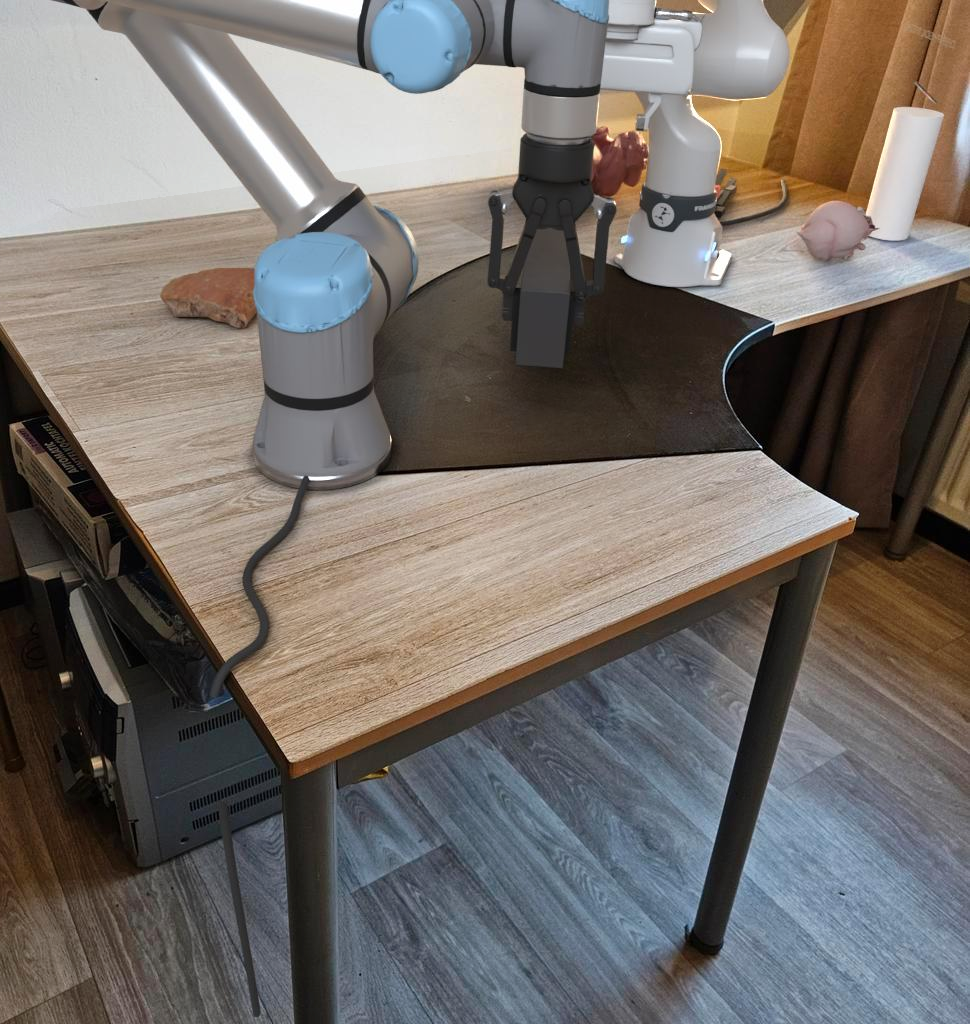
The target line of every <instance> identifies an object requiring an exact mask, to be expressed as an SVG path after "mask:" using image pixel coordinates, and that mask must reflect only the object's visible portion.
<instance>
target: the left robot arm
mask: <svg viewBox="0 0 970 1024" xmlns="http://www.w3.org/2000/svg"><path fill="white" fill-rule="evenodd" d="M51 1H53V2H56V3H61V4H66V5H70V6H73V7H77V8H80V9H83V10H86V11H87V12H88V14H89V15H90V16H91V17H92V18H93V20H94V21H95V22H96V23H97V25H98V26H99V28H100V29H102V30H103V31H108V32H112V33H117V34H122V35H124V36H125V37H126V38H127V40H128V41H130V43H131V44H132V46H133V47H134V48H135V50H136V51H137V52H138V53H139V54H140V56H141V57H142V58H143V60H144V61H145V62H146V63H147V65H148V66H149V67H150V69H151V70H152V71H153V73H154V74H155V75H156V76H157V77H158V79H159V80H160V81H161V83H162V84H163V85H164V87H166V89H167V90H168V91H169V92H170V94H171V95H172V96H173V98H174V99H175V100H176V102H177V103H178V104H179V105H180V106H181V108H182V109H183V110H184V112H185V113H186V114H187V115H188V117H189V118H190V119H191V120H192V122H193V123H194V125H195V126H196V127H197V128H198V130H199V131H200V132H201V133H202V134H203V136H204V137H205V138H206V140H207V141H208V142H209V144H210V145H211V146H212V148H213V149H214V150H215V151H216V152H217V154H218V155H219V156H220V158H221V159H222V160H223V161H224V163H225V164H226V166H228V167H229V169H230V170H231V171H232V173H233V174H234V175H235V176H236V178H237V179H238V180H239V181H240V183H241V184H242V186H243V187H244V188H245V189H246V191H247V192H248V193H249V194H250V195H251V197H252V198H253V200H254V201H255V202H256V203H257V204H258V206H259V208H260V209H261V210H262V211H263V212H264V214H265V215H266V217H268V218H269V220H270V221H271V222H272V224H273V225H274V226H275V229H276V241H275V242H273V243H271V244H270V245H269V246H267V247H266V248H265V249H264V250H263V251H262V252H261V253H260V255H259V256H258V258H257V260H256V261H255V266H254V268H255V271H254V276H255V283H254V284H255V285H254V290H253V294H254V301H255V306H256V311H257V313H256V320H257V328H258V329H257V330H258V340H259V349H260V359H261V369H262V379H263V388H264V390H263V391H264V396H263V400H262V404H261V408H260V412H259V415H258V419H257V423H256V427H255V430H254V434H253V439H252V455H253V460H254V464H255V467H256V468H257V470H258V471H259V472H260V473H261V474H262V475H263V476H265V477H266V478H268V479H269V480H271V481H273V482H275V483H278V484H280V485H283V486H286V487H290V488H295V489H298V490H297V492H296V494H295V497H294V500H293V501H294V502H293V504H292V507H291V510H290V514H289V516H288V518H287V520H286V522H285V523H284V525H283V526H282V527H281V528H280V529H279V530H278V532H277V533H275V534H274V535H273V537H271V538H270V539H268V540H267V541H266V542H265V543H264V544H263V545H262V546H260V547H259V548H257V550H255V552H254V553H253V554H252V555H251V557H250V558H249V559H248V561H247V563H246V565H245V567H244V569H243V572H242V586H243V590H244V592H245V594H246V596H247V599H248V600H249V602H250V603H251V606H252V607H253V608H254V610H255V612H256V614H257V616H258V621H259V630H258V635H257V636H256V637H255V639H254V640H253V641H252V642H251V643H249V644H248V645H246V646H245V647H244V648H242V649H241V650H239V651H238V652H235V653H234V654H233V655H232V656H231V657H229V658H228V659H227V660H226V661H225V662H224V663H223V664H222V665H221V666H220V668H219V670H218V671H217V673H216V675H215V677H214V679H213V681H212V685H211V688H210V691H209V697H210V698H212V699H214V698H215V699H216V698H218V696H220V693H221V691H222V688H223V685H224V682H225V680H226V678H227V677H228V675H229V674H230V673H231V672H232V670H233V669H234V668H235V667H236V666H237V665H239V664H240V663H241V662H243V661H244V660H246V659H247V658H249V657H250V656H251V655H253V654H255V653H256V652H257V651H259V650H260V649H261V648H262V647H263V645H264V643H265V642H266V640H267V637H269V631H270V619H269V615H268V613H267V610H266V608H265V607H264V604H263V602H262V601H261V599H260V598H259V597H258V594H257V593H256V591H255V589H254V587H253V583H252V575H253V571H254V568H255V567H256V565H257V564H258V563H259V561H261V559H262V558H263V557H264V556H265V555H266V554H267V553H268V552H270V551H271V550H272V549H273V548H274V547H275V546H277V545H278V544H279V543H280V542H282V540H283V539H285V538H286V536H287V535H288V534H289V532H290V531H291V530H292V528H293V527H294V526H295V523H296V522H297V519H298V516H299V513H300V510H301V506H302V503H303V500H304V497H305V494H306V492H307V490H312V491H314V490H315V491H323V490H327V491H328V490H337V489H342V488H348V487H351V486H355V485H358V484H361V483H363V482H366V481H368V480H370V479H373V478H374V477H375V476H377V475H378V474H380V473H381V472H382V471H383V470H384V469H385V468H386V467H387V466H388V464H389V463H390V461H391V458H392V437H391V432H390V430H389V427H388V424H387V422H386V419H385V417H384V413H383V411H382V408H381V406H380V403H379V400H378V398H377V395H376V393H375V385H374V340H375V339H374V338H375V336H376V335H377V334H378V332H379V331H380V330H381V329H382V328H383V326H384V325H385V324H386V322H388V320H389V319H390V318H391V316H392V315H393V314H394V313H395V311H396V310H398V309H399V308H401V307H402V306H403V305H404V303H405V302H406V300H407V298H409V295H410V293H411V291H412V288H413V286H414V284H415V282H416V279H417V276H418V272H419V263H420V262H419V260H420V258H419V251H418V246H417V242H416V241H415V237H414V236H413V232H411V230H410V228H409V227H408V226H407V224H406V223H405V222H404V220H403V219H401V217H399V216H398V215H397V214H395V213H394V212H392V211H390V210H389V209H386V208H383V207H379V206H377V205H373V203H372V202H371V200H370V199H369V198H368V196H367V195H366V194H365V193H364V191H363V190H362V189H361V187H360V186H359V185H358V184H357V183H354V182H353V183H352V182H348V181H343V180H342V181H341V180H340V179H337V177H336V176H335V175H334V174H333V172H332V171H331V170H330V168H329V167H328V165H326V163H325V162H324V160H323V159H322V158H321V156H320V155H319V154H318V153H317V151H316V150H315V149H314V147H313V146H312V145H311V143H310V141H308V139H307V138H306V136H305V135H304V134H303V132H302V131H301V129H300V128H299V127H298V126H297V124H296V123H295V122H294V121H293V119H292V117H291V116H290V115H289V113H288V112H287V111H286V109H285V108H284V107H283V106H282V104H281V103H280V102H279V100H278V99H277V98H276V96H275V95H274V93H273V92H272V90H271V89H270V88H269V87H268V86H267V84H266V83H265V81H264V80H263V79H262V77H261V76H260V75H259V74H258V72H257V71H256V69H255V68H254V67H253V66H252V64H251V63H250V61H249V60H248V59H247V57H246V56H245V55H244V53H243V52H242V51H241V49H240V48H239V46H238V45H237V44H236V43H235V41H234V40H233V38H232V37H231V36H230V35H233V36H236V37H240V38H244V39H248V40H251V41H256V42H259V43H263V44H267V45H271V46H274V47H278V48H281V49H286V50H291V51H293V52H297V53H301V54H305V55H308V56H311V57H312V56H313V57H316V58H320V59H324V60H327V61H332V62H336V63H338V64H344V65H347V66H351V67H355V68H358V69H361V70H362V69H363V70H365V71H370V72H372V73H375V74H379V75H381V76H382V77H383V79H385V81H386V82H387V83H389V84H390V85H391V86H392V87H394V88H396V89H398V91H402V92H404V93H408V94H414V95H420V94H426V93H432V92H435V91H440V90H442V89H444V88H445V87H446V86H448V85H450V84H452V83H453V82H455V80H457V79H458V78H459V77H460V75H461V74H462V73H463V72H465V71H467V70H468V69H470V68H472V67H473V66H474V65H479V66H495V67H507V68H522V69H524V79H523V91H522V106H521V107H522V109H521V124H520V128H521V129H522V131H523V132H525V133H524V134H523V135H522V136H521V138H520V141H519V157H518V173H517V174H518V175H517V179H516V181H515V183H514V184H513V186H512V188H511V189H510V188H509V189H506V190H503V191H499V190H496V189H495V190H491V191H490V192H489V194H488V195H489V196H488V199H487V205H488V209H489V212H490V216H491V219H492V221H491V233H490V234H491V235H490V243H489V244H490V245H489V257H488V260H489V261H488V271H487V286H488V287H489V288H490V289H497V290H499V291H500V292H501V293H502V310H501V311H502V312H501V317H502V320H503V321H506V322H507V321H508V322H511V331H510V345H509V351H510V352H515V353H516V348H517V334H518V320H519V305H520V291H521V287H517V285H518V282H519V279H520V278H521V275H522V272H523V266H524V263H525V260H526V258H527V255H528V252H529V249H530V246H531V244H532V241H533V238H534V236H535V234H536V231H537V229H547V228H552V229H555V230H560V231H564V236H565V241H566V246H567V251H568V257H569V262H570V274H571V278H572V283H573V289H574V291H573V290H572V291H571V290H570V301H569V311H568V321H567V331H566V341H565V351H564V356H570V355H571V346H572V337H573V326H579V327H580V326H582V325H583V324H584V321H585V310H586V302H587V299H588V298H589V297H591V296H594V295H595V296H600V295H602V294H603V293H604V290H605V280H606V270H607V259H608V249H609V248H608V247H609V234H610V227H611V225H612V224H613V223H612V222H613V221H614V218H615V216H616V214H617V212H618V209H617V201H616V200H615V199H614V198H613V197H607V198H606V197H603V196H601V197H600V196H598V195H595V194H594V191H593V188H592V186H591V175H592V165H593V155H594V146H595V143H594V142H593V140H592V139H591V138H590V137H591V136H593V135H594V134H595V133H596V127H598V117H599V106H600V99H601V98H600V97H601V89H600V86H601V77H602V69H603V61H604V52H605V44H606V36H607V27H608V21H609V15H608V9H609V0H51ZM512 202H515V203H516V205H517V206H518V208H519V210H520V212H521V213H522V215H523V217H524V218H525V221H524V223H523V228H522V231H521V233H520V236H519V239H518V242H517V245H516V248H515V250H514V254H513V255H512V259H511V262H510V264H509V268H508V271H507V273H506V275H504V274H502V273H501V266H502V265H501V264H502V253H503V241H504V233H505V232H504V229H505V220H506V219H505V218H506V214H507V213H509V212H510V209H511V204H512ZM590 207H592V208H593V216H594V219H596V228H595V239H594V240H595V243H594V255H593V265H592V266H593V267H592V278H591V279H589V280H586V277H585V271H584V265H583V261H582V254H581V249H580V243H579V238H578V231H577V225H576V223H577V221H578V220H579V219H580V218H581V217H582V216H583V215H584V213H585V212H586V211H587V210H588V209H589V208H590ZM217 807H218V815H219V821H220V822H219V823H220V829H221V830H220V831H221V836H222V843H223V844H222V845H223V850H224V857H225V863H226V869H227V875H228V881H229V886H230V893H231V897H232V901H233V902H232V903H233V904H232V905H233V910H234V915H235V919H236V925H237V930H238V935H239V941H240V946H241V947H240V948H241V952H242V958H243V963H244V968H245V974H246V980H247V985H248V986H247V987H248V992H249V997H250V1004H251V1010H252V1015H253V1017H254V1018H259V1017H260V1016H261V1013H262V1012H261V1005H260V998H259V991H258V986H257V980H256V973H255V967H254V961H253V956H252V955H253V954H252V951H251V944H250V939H249V938H250V937H249V933H248V928H247V923H246V915H245V911H244V905H243V899H242V893H241V887H240V881H239V875H238V868H237V863H236V862H237V861H236V857H235V849H234V843H233V835H232V827H231V819H230V811H229V803H226V802H223V801H220V800H217Z"/></svg>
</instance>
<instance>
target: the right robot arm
mask: <svg viewBox="0 0 970 1024" xmlns="http://www.w3.org/2000/svg"><path fill="white" fill-rule="evenodd" d="M697 1H698V3H700V4H701V5H702V6H703V7H704V8H705V9H707V10H708V11H710V12H711V13H700V12H693V11H691V10H687V9H682V10H676V9H670V8H658V7H657V6H656V5H657V0H609V9H608V15H609V21H608V27H607V36H606V44H605V52H604V61H603V69H602V77H601V86H600V90H601V91H602V90H605V91H616V92H629V93H630V92H632V93H634V94H635V95H636V97H637V98H638V100H639V102H640V104H641V107H642V109H643V113H637V114H636V119H635V120H636V122H635V127H634V131H637V132H648V158H647V164H646V174H645V181H644V182H643V183H642V185H641V190H640V193H639V209H638V210H637V211H635V212H633V214H631V215H630V217H629V221H628V225H627V229H626V230H627V231H626V235H624V236H622V237H621V240H620V243H621V244H624V246H623V251H622V252H620V253H617V254H615V256H614V262H615V264H617V265H619V266H620V267H621V268H622V269H623V270H624V272H625V273H626V274H627V275H628V276H630V277H631V278H633V279H635V280H637V281H640V282H643V283H646V284H650V285H656V286H660V287H670V288H689V287H690V288H691V287H697V286H708V287H709V286H711V287H712V286H714V287H715V286H721V284H722V282H723V279H724V277H725V275H726V272H727V270H728V269H729V266H730V263H731V261H732V253H730V252H729V251H726V250H724V249H722V248H721V244H722V238H723V232H724V227H726V226H732V225H733V226H734V225H737V224H741V223H746V222H750V221H753V220H757V219H760V218H763V217H766V216H769V215H772V214H774V213H776V212H778V211H780V209H782V208H783V207H784V206H785V204H786V202H787V200H788V188H787V183H786V179H784V178H782V179H780V186H781V193H782V198H781V200H780V202H778V204H776V205H774V206H773V207H771V208H769V209H766V210H763V211H760V212H757V213H753V214H750V215H746V216H741V217H737V218H733V219H728V220H722V221H720V220H719V218H717V217H716V216H715V214H714V212H715V210H716V203H717V198H718V197H719V194H720V193H719V192H720V191H721V189H722V188H721V185H720V186H719V185H715V184H716V178H717V175H718V173H719V166H720V161H721V154H722V149H723V145H722V140H721V136H720V135H719V133H718V132H717V129H715V127H713V125H711V124H710V123H709V122H707V121H706V120H704V119H703V118H702V117H701V116H699V115H698V113H697V112H696V110H695V108H694V107H693V103H692V96H700V97H706V98H715V99H721V100H729V101H747V100H757V99H766V98H768V97H769V96H770V95H771V94H772V93H774V92H775V90H777V89H778V88H779V86H780V85H781V83H782V81H784V78H785V77H786V74H787V71H788V68H789V63H790V57H791V55H790V46H789V42H788V39H787V36H786V34H785V32H784V31H783V29H782V28H781V27H780V25H778V24H777V23H776V22H775V21H774V20H773V19H772V18H771V16H770V15H769V12H768V11H767V9H766V6H765V4H764V0H697Z"/></svg>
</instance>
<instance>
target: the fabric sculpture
mask: <svg viewBox="0 0 970 1024" xmlns="http://www.w3.org/2000/svg"><path fill="white" fill-rule="evenodd" d="M610 130H611V129H610V127H608V126H607V125H605V126H604V125H602V126H600V127H598V126H597V127H596V133H595V134H594V135H593V136H591V137H590V138H591V139H592V140H593V142H594V143H595V146H594V155H593V165H592V175H591V186H592V188H593V191H594V194H595V195H598V196H600V197H602V198H606V197H607V198H612V197H613V196H614V195H617V194H618V192H619V191H620V189H621V186H622V184H624V185H625V186H627V187H631V188H635V187H636V186H637V185H638V184H639V183H640V181H641V178H642V174H643V171H645V170H647V163H648V151H649V144H648V143H647V142H646V141H645V139H644V135H643V134H642V132H640V131H636V130H631V131H628V132H627V131H624V132H621V133H618V135H617V136H615V137H614V138H612V137H611V136H610V135H609V134H610Z"/></svg>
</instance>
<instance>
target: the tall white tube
mask: <svg viewBox="0 0 970 1024" xmlns="http://www.w3.org/2000/svg"><path fill="white" fill-rule="evenodd" d="M904 30H905V31H907V32H910V33H912V32H913V34H915V33H916V34H917V35H918V36H921V37H923V38H924V37H925V39H928V40H930V41H931V40H932V41H933V42H937V40H938V44H939V43H940V44H942V45H943V46H946V47H947V48H948V47H949V49H950V48H951V49H952V50H953V49H954V48H955V45H956V40H954V39H951V38H948V37H946V36H942V37H941V34H938V35H937V33H934V32H933V31H931V30H926V29H923V34H921V31H922V27H920V26H918V25H915V24H912V23H909V22H908V21H907V22H905V26H904ZM927 33H928V35H927ZM940 37H941V38H940ZM940 39H941V42H940ZM945 39H946V40H945ZM944 42H945V43H944ZM952 43H954V44H953V46H952ZM913 84H914V85H915V86H916V87H917V88H919V90H920V91H921V92H922V95H923V96H924V97H926V98H928V99H929V100H930V101H931V102H932V103H934V104H937V103H938V101H937V100H936V99H935V98H934V97H932V95H931V94H930V93H929V92H928V91H927V90H926V89H925V88H924V87H923V86H922V85H921V84H920V83H919V82H918V81H915V80H914V82H913ZM944 117H945V114H944V113H943V112H940V111H937V110H936V109H935V110H934V109H929V108H924V107H915V106H914V107H913V106H897V107H894V108H893V110H892V114H891V118H890V122H889V126H888V129H887V133H886V137H885V140H884V145H883V148H882V151H881V155H880V159H879V163H878V166H877V170H876V174H875V177H874V182H873V185H872V189H871V193H870V196H869V201H868V203H867V208H866V211H865V212H866V214H865V215H867V216H871V219H872V222H873V225H875V228H880V229H878V230H875V231H872V233H871V234H870V235H868V237H871V238H873V239H878V240H884V241H893V242H895V241H897V242H898V241H899V242H900V241H905V240H907V239H909V236H910V233H911V229H912V226H913V222H914V219H915V215H916V211H917V210H918V209H917V208H918V206H919V202H920V198H921V195H922V191H923V188H924V184H925V182H926V178H927V175H928V171H929V169H930V165H931V161H932V158H933V155H934V151H935V148H936V145H937V142H938V141H937V140H938V138H939V134H940V130H941V127H942V124H943V121H944Z"/></svg>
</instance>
